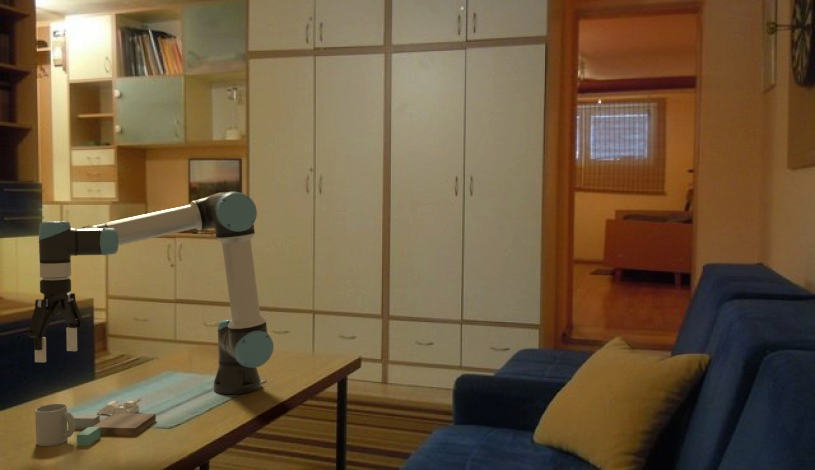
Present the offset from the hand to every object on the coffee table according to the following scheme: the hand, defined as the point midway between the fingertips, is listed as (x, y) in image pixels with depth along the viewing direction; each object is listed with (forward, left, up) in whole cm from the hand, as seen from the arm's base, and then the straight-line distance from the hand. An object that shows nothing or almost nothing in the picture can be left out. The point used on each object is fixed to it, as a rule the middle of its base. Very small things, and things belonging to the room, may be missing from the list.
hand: (56, 356), depth 186 cm
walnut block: (-17, -2, -20) cm, 27 cm away
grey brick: (-6, -2, -20) cm, 21 cm away
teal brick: (-13, +9, -20) cm, 26 cm away
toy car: (-9, -15, -21) cm, 27 cm away
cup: (-5, +10, -20) cm, 23 cm away
